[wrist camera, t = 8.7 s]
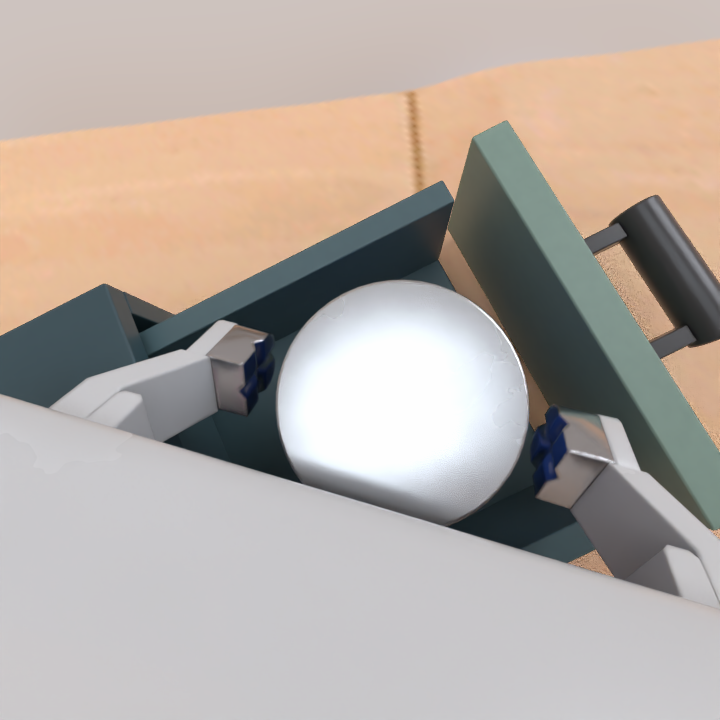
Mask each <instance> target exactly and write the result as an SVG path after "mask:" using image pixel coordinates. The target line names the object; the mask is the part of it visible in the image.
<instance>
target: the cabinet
mask: <svg viewBox="0 0 720 720" xmlns="http://www.w3.org/2000/svg"><path fill="white" fill-rule="evenodd" d="M172 316H174V314H171V313H169V312H167V311H165V310H163V309H161V308H158V307H156V306H154V305H152V304H150V303H147V302H145V301H143V300H141V299H139V298H137V297H134V296H132V295H130V294H128V293H126V292H122V291H120V290H118V289H116V288H114V287H112V286H110V285H107V284H102V285H100V286H98V287H96V288H94V289H92V290H90V291H88V292H86V293H84V294H82V295H80V296H78V297H76V298H74V299H72V300H70V301H68V302H66V303H64V304H62V305H60V306H58V307H56V308H54V309H52V310H50V311H49V312H47V313H45V314H43V315H41V316H39V317H37V318H35V319H33V320H31V321H29V322H27V323H25V324H23V325H21V326H19V327H17V328H15V329H13V330H11V331H9V332H7V333H5V334H3V335H1V336H0V394H2V395H6V396H9V397H13V398H16V399H19V400H23V401H26V402H29V403H33V404H36V405H39V406H43V407H46V408H49V407H50V406H52V405H53V404H54V403H55V402H57V401H58V400H59V399H61V398H62V397H63V396H64V395H66V394H67V393H68V392H70V391H71V390H72V389H73V388H75V387H76V386H77V385H79V384H80V383H81V382H83V381H84V380H85V379H86V378H88V377H92V376H95V375H98V374H101V373H105V372H108V371H111V370H115V369H118V368H121V367H124V366H128V365H131V364H134V363H137V362H141V361H144V360H147V359H149V358H148V355H147V353H146V350H145V348H144V345H143V343H142V340H141V338H140V335H139V333H141V332H143V331H145V330H147V329H149V328H151V327H153V326H155V325H157V324H159V323H161V322H163V321H165V320H167V319H169V318H170V317H172ZM163 443H167V444H170V445H173V446H177V447H180V448H183V449H184V447H183V445H182V442H181V439H180V437H179V434H176V435H175V436H173V437H171V438H169V439H167V440H166V441H164V442H163Z"/></svg>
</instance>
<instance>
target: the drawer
mask: <svg viewBox="0 0 720 720" xmlns="http://www.w3.org/2000/svg"><path fill="white" fill-rule="evenodd" d="M453 204H454V206H453ZM452 208H453V210H452ZM451 212H452V213H451ZM450 215H451V217H450ZM449 219H450V221H449ZM448 223H449V224H448ZM447 226H448V230H449V232H450V234H451V235H452V237H453V239H454V241H455V242H456V244H457V246H458V248H459V249H460V251H461V253H462V255H463V256H464V258H465V260H466V262H467V263H468V265H469V267H470V269H471V270H472V272H473V274H474V276H475V277H476V279H477V281H478V282H479V284H480V286H481V288H482V289H483V291H484V293H485V295H486V296H487V298H488V300H489V302H490V303H491V305H492V307H493V309H494V310H495V312H496V314H497V316H498V317H499V319H500V321H501V323H502V324H503V326H504V328H505V330H506V331H507V333H508V335H509V337H510V338H511V340H512V342H513V344H514V345H515V347H516V349H517V351H518V352H519V354H520V356H521V358H522V359H523V361H524V363H525V364H526V366H527V368H528V370H529V371H530V373H531V375H532V377H533V378H534V380H535V382H536V384H537V385H538V387H539V389H540V391H541V392H542V394H543V396H544V398H545V399H546V401H547V403H548V405H549V406H550V407H551V406H552V405H553V404H556V405H560V406H564V407H568V408H572V409H576V410H580V411H584V412H588V413H592V414H599V415H604V416H608V417H613V418H617V419H618V420H619V421H621V423H622V425H623V428H624V430H625V433H626V435H627V438H628V440H629V443H630V445H631V448H632V450H633V453H634V455H635V458H636V460H637V463H638V465H639V468H640V470H641V471H643V472H646V473H648V474H650V475H651V476H652V477H653V478H654V479H655V480H656V481H657V482H658V483H659V484H660V485H661V486H662V487H664V488H665V489H666V490H667V491H668V492H669V493H670V494H671V495H672V496H673V497H674V498H675V499H677V500H678V501H679V502H680V503H681V504H682V505H683V506H684V507H685V508H686V509H687V510H688V511H689V512H691V513H692V514H693V515H694V516H695V517H696V518H697V519H698V520H699V521H700V522H701V523H702V524H703V525H705V526H706V527H707V528H708V529H711V530H717V529H719V528H720V452H719V450H718V449H717V447H716V446H715V444H714V443H713V441H712V440H711V438H710V436H709V435H708V433H707V432H706V430H705V429H704V427H703V425H702V424H701V422H700V421H699V419H698V418H697V416H696V415H695V413H694V411H693V410H692V408H691V407H690V405H689V404H688V402H687V400H686V399H685V397H684V396H683V394H682V393H681V391H680V390H679V388H678V386H677V385H676V383H675V382H674V380H673V379H672V377H671V375H670V374H669V372H668V371H667V369H666V368H665V366H664V365H663V363H662V361H661V360H660V359H661V358H663V357H665V356H667V355H670V354H672V353H674V352H676V351H678V350H680V349H682V348H684V347H686V346H688V347H689V348H691V347H698V346H702V345H705V344H708V343H711V342H714V341H716V340H719V339H720V283H719V282H718V280H717V279H716V277H715V276H714V274H713V273H712V271H711V270H710V269H709V267H708V266H707V264H706V263H705V261H704V260H703V258H702V257H701V256H700V254H699V253H698V251H697V250H696V248H695V247H694V245H693V244H692V243H691V241H690V240H689V238H688V237H687V235H686V234H685V233H684V231H683V230H682V228H681V227H680V225H679V224H678V222H677V221H676V220H675V218H674V217H673V215H672V214H671V212H670V211H669V209H668V208H667V207H666V205H665V204H664V202H663V201H662V199H661V198H660V197H659V196H658V195H654V196H651V197H648V198H646V199H644V200H642V201H640V202H638V203H637V204H635V205H633V206H632V207H630V208H629V209H627V210H625V211H624V212H623V213H621V214H620V215H618V216H617V217H616V218H615V219H613V220H612V221H611V223H610V224H609V227H607V228H605V229H603V230H601V231H599V232H597V233H595V234H593V235H591V236H589V237H587V238H585V239H583V238H582V236H581V235H580V233H579V232H578V230H577V229H576V227H575V225H574V224H573V222H572V221H571V219H570V218H569V216H568V214H567V213H566V211H565V210H564V208H563V207H562V205H561V204H560V202H559V200H558V199H557V197H556V196H555V194H554V193H553V191H552V189H551V188H550V186H549V185H548V183H547V182H546V180H545V179H544V177H543V175H542V174H541V172H540V171H539V169H538V168H537V166H536V164H535V163H534V161H533V160H532V158H531V157H530V155H529V153H528V152H527V150H526V149H525V147H524V146H523V144H522V143H521V141H520V139H519V138H518V136H517V135H516V133H515V132H514V130H513V128H512V127H511V125H510V124H509V122H508V121H504V122H502V123H500V124H498V125H496V126H494V127H492V128H490V129H488V130H486V131H484V132H482V133H480V134H478V135H476V136H474V137H473V138H472V141H471V144H470V148H469V151H468V155H467V159H466V162H465V166H464V170H463V173H462V177H461V181H460V184H459V188H458V192H457V195H456V199H455V202H454V199H453V197H452V196H451V194H450V192H449V191H448V189H447V187H446V185H445V184H444V182H443V181H440V182H438V183H436V184H434V185H432V186H430V187H428V188H426V189H424V190H422V191H420V192H418V193H416V194H414V195H412V196H410V197H408V198H406V199H404V200H402V201H400V202H398V203H396V204H394V205H392V206H390V207H388V208H386V209H384V210H382V211H380V212H378V213H376V214H374V215H372V216H370V217H368V218H366V219H364V220H363V221H361V222H359V223H357V224H355V225H353V226H351V227H349V228H347V229H345V230H343V231H341V232H339V233H337V234H335V235H333V236H331V237H329V238H327V239H325V240H323V241H321V242H319V243H317V244H315V245H313V246H311V247H309V248H307V249H305V250H303V251H301V252H299V253H297V254H295V255H293V256H291V257H289V258H287V259H285V260H283V261H281V262H279V263H277V264H275V265H273V266H271V267H269V268H267V269H266V270H264V271H262V272H260V273H258V274H256V275H254V276H252V277H250V278H248V279H246V280H244V281H242V282H240V283H238V284H236V285H234V286H232V287H230V288H228V289H226V290H224V291H222V292H220V293H218V294H216V295H214V296H212V297H210V298H208V299H206V300H204V301H202V302H200V303H198V304H196V305H194V306H192V307H190V308H188V309H186V310H184V311H182V312H180V313H178V314H176V315H174V316H172V317H170V318H169V319H167V320H165V321H163V322H161V323H159V324H157V325H155V326H153V327H151V328H149V329H147V330H145V331H143V332H141V333H139V335H140V338H141V340H142V343H143V345H144V348H145V350H146V353H147V355H148V358H149V359H151V358H154V357H157V356H160V355H164V354H167V353H170V352H173V351H177V350H180V349H182V350H187V349H188V348H189V347H190V346H191V345H192V344H193V343H195V342H196V341H197V340H198V339H199V338H200V337H201V336H202V335H203V334H204V333H205V332H206V331H207V330H208V329H210V328H211V327H212V326H213V325H214V324H215V323H216V322H217V321H219V320H226V321H229V322H233V323H237V324H241V325H245V326H249V327H252V328H256V329H259V330H263V331H267V332H270V333H272V334H273V335H274V339H275V346H274V348H273V349H272V350H271V353H272V355H273V356H274V358H275V370H274V375H273V377H272V380H271V383H270V384H269V386H268V388H267V389H266V390H265V391H262V392H260V393H258V396H259V401H258V402H257V404H256V405H255V407H254V408H253V410H252V411H251V413H250V414H249V415H248V417H245V416H241V415H237V414H233V413H229V412H225V411H221V410H218V412H216V413H214V414H212V415H210V416H209V417H207V418H205V419H203V420H201V421H200V422H198V423H196V424H194V425H192V426H191V427H189V428H187V429H185V430H183V431H182V432H180V433H178V434H179V437H180V439H181V442H182V445H183V447H184V449H187V450H190V451H193V452H197V453H200V454H203V455H207V456H210V457H213V458H217V459H220V460H223V461H227V462H230V463H234V464H237V465H240V466H244V467H247V468H250V469H254V470H257V471H260V472H264V473H267V474H270V475H274V476H277V477H280V478H284V479H287V480H290V481H294V482H297V483H300V484H302V483H301V481H300V480H299V478H298V477H297V476H296V474H295V473H294V471H293V469H292V467H291V465H290V463H289V461H288V460H287V458H286V455H285V452H284V450H283V447H282V444H281V441H280V437H279V433H278V428H277V422H276V411H275V403H276V389H277V383H278V377H279V373H280V370H281V367H282V363H283V361H284V358H285V356H286V354H287V351H288V349H289V347H290V345H291V344H292V342H293V340H294V339H295V337H296V335H297V334H298V332H299V331H300V330H301V329H302V327H303V326H304V325H305V324H306V322H307V321H308V320H309V319H310V318H311V317H312V316H313V315H314V314H315V313H316V312H317V311H318V310H319V309H321V308H322V307H323V306H325V305H326V304H327V303H329V302H330V301H331V300H333V299H335V298H337V297H338V296H340V295H342V294H343V293H345V292H348V291H350V290H352V289H355V288H357V287H360V286H363V285H367V284H370V283H374V282H381V281H387V280H414V281H422V282H427V283H431V284H436V285H439V286H442V287H444V288H447V289H450V290H452V291H454V292H456V291H455V289H454V287H453V285H452V283H451V282H450V280H449V278H448V276H447V274H446V273H445V271H444V269H443V267H442V266H441V264H440V262H439V260H438V259H439V256H440V252H441V248H442V245H443V241H444V237H445V234H446V230H447ZM619 243H620V245H621V246H622V248H623V250H624V251H625V253H626V254H627V256H628V257H629V259H630V260H631V262H632V263H633V265H634V266H635V268H636V269H637V271H638V272H639V274H640V275H641V277H642V278H643V280H644V281H645V283H646V285H647V286H648V288H649V289H650V291H651V292H652V294H653V295H654V297H655V298H656V300H657V301H658V303H659V304H660V306H661V307H662V309H663V310H664V312H665V313H666V315H667V316H668V318H669V320H670V321H671V323H672V324H673V326H674V327H675V329H672V330H670V331H668V332H666V333H664V334H662V335H660V336H658V337H656V338H654V339H652V340H650V341H648V339H647V338H646V336H645V335H644V333H643V332H642V330H641V329H640V327H639V325H638V324H637V322H636V321H635V319H634V318H633V316H632V314H631V313H630V311H629V310H628V308H627V307H626V305H625V304H624V302H623V300H622V299H621V297H620V296H619V294H618V293H617V291H616V289H615V288H614V286H613V285H612V283H611V282H610V280H609V279H608V277H607V275H606V274H605V272H604V271H603V269H602V268H601V266H600V264H599V263H598V261H597V260H596V258H595V257H594V256H595V255H597V254H599V253H601V252H603V251H605V250H607V249H609V248H611V247H613V246H615V245H617V244H619ZM456 293H457V292H456ZM534 433H535V432H534V430H533V428H532V426H531V425H530V423H529V422H528V430H527V434H526V439H525V444H524V446H523V449H522V452H521V455H520V457H519V460H518V462H517V464H516V466H515V467H514V469H513V471H512V473H511V475H510V476H509V478H508V479H507V481H506V482H505V483H504V485H503V486H502V487H501V489H500V490H499V491H498V492H497V493H496V494H495V495H494V496H493V497H492V498H491V499H490V500H489V501H488V502H487V503H486V504H485V505H483V506H482V507H481V508H479V509H478V510H477V511H476V512H474V513H473V514H471V515H469V516H467V517H466V518H464V519H462V520H460V521H459V522H456V523H454V524H451V525H449V526H446V527H448V528H451V529H454V530H458V531H461V532H464V533H468V534H471V535H474V536H478V537H481V538H484V539H488V540H491V541H494V542H498V543H501V544H504V545H508V546H511V547H514V548H518V549H521V550H525V551H528V552H531V553H535V554H538V555H541V556H545V557H548V558H551V559H555V560H558V561H561V562H565V563H569V562H571V561H573V560H575V559H577V558H579V557H581V556H583V555H585V554H587V553H589V552H591V551H593V550H595V547H594V546H593V544H592V543H591V541H590V540H589V538H588V537H587V535H586V534H585V532H584V531H583V529H582V528H581V526H580V525H579V523H578V522H577V520H576V519H575V517H574V516H573V514H572V513H571V511H570V510H571V509H569V508H566V507H562V506H559V505H556V504H553V503H549V502H546V501H543V500H540V499H536V498H535V494H534V486H533V478H532V475H533V474H534V472H535V471H536V468H535V467H534V465H533V464H532V463H531V462H530V445H531V441H532V437H533V435H534Z"/></svg>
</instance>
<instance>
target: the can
mask: <svg viewBox="0 0 720 720" xmlns="http://www.w3.org/2000/svg"><path fill="white" fill-rule="evenodd" d="M275 411H276V422H277V428H278V433H279V437H280V441H281V444H282V447H283V450H284V452H285V455H286V458H287V460H288V461H289V463H290V465H291V467H292V469H293V471H294V473H295V474H296V476H297V477H298V478H299V480H300V481H301V483H302V484H304V485H307V486H310V487H314V488H317V489H321V490H324V491H327V492H331V493H334V494H337V495H341V496H344V497H347V498H351V499H354V500H357V501H361V502H364V503H367V504H371V505H374V506H377V507H381V508H384V509H387V510H391V511H394V512H398V513H401V514H404V515H408V516H411V517H414V518H418V519H421V520H424V521H428V522H431V523H434V524H438V525H441V526H444V527H446V526H449V525H451V524H454V523H456V522H459V521H460V520H462V519H464V518H466V517H467V516H469V515H471V514H473V513H474V512H476V511H477V510H478V509H479V508H481V507H482V506H483V505H485V504H486V503H487V502H488V501H489V500H490V499H491V498H492V497H493V496H494V495H495V494H496V493H497V492H498V491H499V490H500V489H501V487H502V486H503V485H504V483H505V482H506V481H507V479H508V478H509V476H510V475H511V473H512V471H513V469H514V467H515V466H516V464H517V462H518V460H519V457H520V455H521V452H522V449H523V446H524V444H525V439H526V434H527V430H528V422H529V392H528V387H527V382H526V377H525V373H524V370H523V367H522V364H521V361H520V359H519V357H518V355H517V353H516V351H515V349H514V347H513V345H512V343H511V342H510V340H509V339H508V337H507V336H506V334H505V332H504V331H503V330H502V329H501V327H500V326H499V325H498V324H497V323H496V322H495V320H494V319H493V318H492V317H491V316H490V315H488V314H487V313H486V312H485V311H484V310H483V309H482V308H481V307H479V306H478V305H476V304H475V303H473V302H472V301H471V300H469V299H468V298H466V297H464V296H462V295H460V294H458V293H456V292H454V291H452V290H450V289H447V288H444V287H442V286H439V285H436V284H431V283H427V282H422V281H414V280H387V281H381V282H374V283H370V284H367V285H363V286H360V287H357V288H355V289H352V290H350V291H348V292H345V293H343V294H342V295H340V296H338V297H337V298H335V299H333V300H331V301H330V302H329V303H327V304H326V305H325V306H323V307H322V308H321V309H319V310H318V311H317V312H316V313H315V314H314V315H313V316H312V317H311V318H310V319H309V320H308V321H307V322H306V324H305V325H304V326H303V327H302V329H301V330H300V331H299V332H298V334H297V335H296V337H295V339H294V340H293V342H292V344H291V345H290V347H289V349H288V351H287V354H286V356H285V358H284V361H283V363H282V367H281V370H280V373H279V377H278V383H277V389H276V403H275Z"/></svg>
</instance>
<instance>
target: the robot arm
mask: <svg viewBox="0 0 720 720" xmlns="http://www.w3.org/2000/svg"><path fill="white" fill-rule="evenodd" d="M274 346H275V339H274V335H273V334H272V333H270V332H267V331H263V330H259V329H256V328H252V327H249V326H245V325H241V324H237V323H233V322H229V321H226V320H219V321H217V322H216V323H215V324H214V325H213V326H212V327H211V328H210V329H208V330H207V331H206V332H205V333H204V334H203V335H202V336H201V337H200V338H199V339H198V340H197V341H196V342H195V343H193V344H192V345H191V346H190V347H189V348H188V349H187V350H182V349H180V350H177V351H173V352H170V353H167V354H164V355H160V356H157V357H154V358H151V359H147V360H144V361H141V362H137V363H134V364H131V365H128V366H124V367H121V368H118V369H115V370H111V371H108V372H105V373H101V374H98V375H95V376H92V377H88V378H86V379H85V380H84V381H83V382H81V383H80V384H79V385H77V386H76V387H75V388H73V389H72V390H71V391H70V392H68V393H67V394H66V395H64V396H63V397H62V398H61V399H59V400H58V401H57V402H55V403H54V404H53V405H52V406H50V407H49V408H46V407H43V406H39V405H36V404H33V403H29V402H26V401H23V400H19V399H16V398H13V397H9V396H6V395H2V394H0V720H720V539H719V538H718V537H716V536H715V535H714V534H713V533H712V532H711V531H710V530H709V529H708V528H707V527H706V526H705V525H703V524H702V523H701V522H700V521H699V520H698V519H697V518H696V517H695V516H694V515H693V514H692V513H691V512H689V511H688V510H687V509H686V508H685V507H684V506H683V505H682V504H681V503H680V502H679V501H678V500H677V499H675V498H674V497H673V496H672V495H671V494H670V493H669V492H668V491H667V490H666V489H665V488H664V487H662V486H661V485H660V484H659V483H658V482H657V481H656V480H655V479H654V478H653V477H652V476H651V475H650V474H648V473H646V472H643V471H641V470H640V468H639V465H638V463H637V460H636V458H635V455H634V453H633V450H632V448H631V445H630V443H629V440H628V438H627V435H626V433H625V430H624V428H623V425H622V423H621V421H619V420H618V419H617V418H613V417H608V416H604V415H599V414H592V413H588V412H584V411H580V410H576V409H572V408H568V407H564V406H560V405H556V404H553V405H552V406H551V407H549V409H548V411H547V412H546V414H545V419H546V423H545V424H543V425H541V426H538V427H537V429H536V431H535V433H534V435H533V437H532V441H531V445H530V462H531V463H532V464H533V465H534V467H535V468H536V471H535V472H534V474H533V475H532V478H533V486H534V494H535V498H536V499H540V500H543V501H546V502H549V503H553V504H556V505H559V506H562V507H566V508H569V509H571V510H570V511H571V513H572V514H573V516H574V517H575V519H576V520H577V522H578V523H579V525H580V526H581V528H582V529H583V531H584V532H585V534H586V535H587V537H588V538H589V540H590V541H591V543H592V544H593V546H594V547H595V549H596V550H597V552H598V553H599V555H600V556H601V558H602V559H603V561H604V562H605V564H606V565H607V567H608V568H609V570H610V571H611V573H612V574H613V576H614V577H611V576H608V575H605V574H601V573H598V572H595V571H591V570H588V569H585V568H581V567H578V566H575V565H571V564H568V563H565V562H561V561H558V560H555V559H551V558H548V557H545V556H541V555H538V554H535V553H531V552H528V551H525V550H521V549H518V548H514V547H511V546H508V545H504V544H501V543H498V542H494V541H491V540H488V539H484V538H481V537H478V536H474V535H471V534H468V533H464V532H461V531H458V530H454V529H451V528H448V527H444V526H441V525H438V524H434V523H431V522H428V521H424V520H421V519H418V518H414V517H411V516H408V515H404V514H401V513H398V512H394V511H391V510H387V509H384V508H381V507H377V506H374V505H371V504H367V503H364V502H361V501H357V500H354V499H351V498H347V497H344V496H341V495H337V494H334V493H331V492H327V491H324V490H321V489H317V488H314V487H310V486H307V485H304V484H300V483H297V482H294V481H290V480H287V479H284V478H280V477H277V476H274V475H270V474H267V473H264V472H260V471H257V470H254V469H250V468H247V467H244V466H240V465H237V464H234V463H230V462H227V461H223V460H220V459H217V458H213V457H210V456H207V455H203V454H200V453H197V452H193V451H190V450H187V449H183V448H180V447H177V446H173V445H170V444H167V443H163V442H164V441H166V440H167V439H169V438H171V437H173V436H175V435H176V434H178V433H180V432H182V431H183V430H185V429H187V428H189V427H191V426H192V425H194V424H196V423H198V422H200V421H201V420H203V419H205V418H207V417H209V416H210V415H212V414H214V413H216V412H218V410H221V411H225V412H229V413H233V414H237V415H241V416H245V417H248V415H249V414H250V413H251V411H252V410H253V408H254V407H255V405H256V404H257V402H258V401H259V396H258V393H260V392H262V391H265V390H266V389H267V388H268V386H269V384H270V383H271V380H272V377H273V375H274V370H275V358H274V356H273V355H272V353H271V350H272V349H273V348H274Z"/></svg>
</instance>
